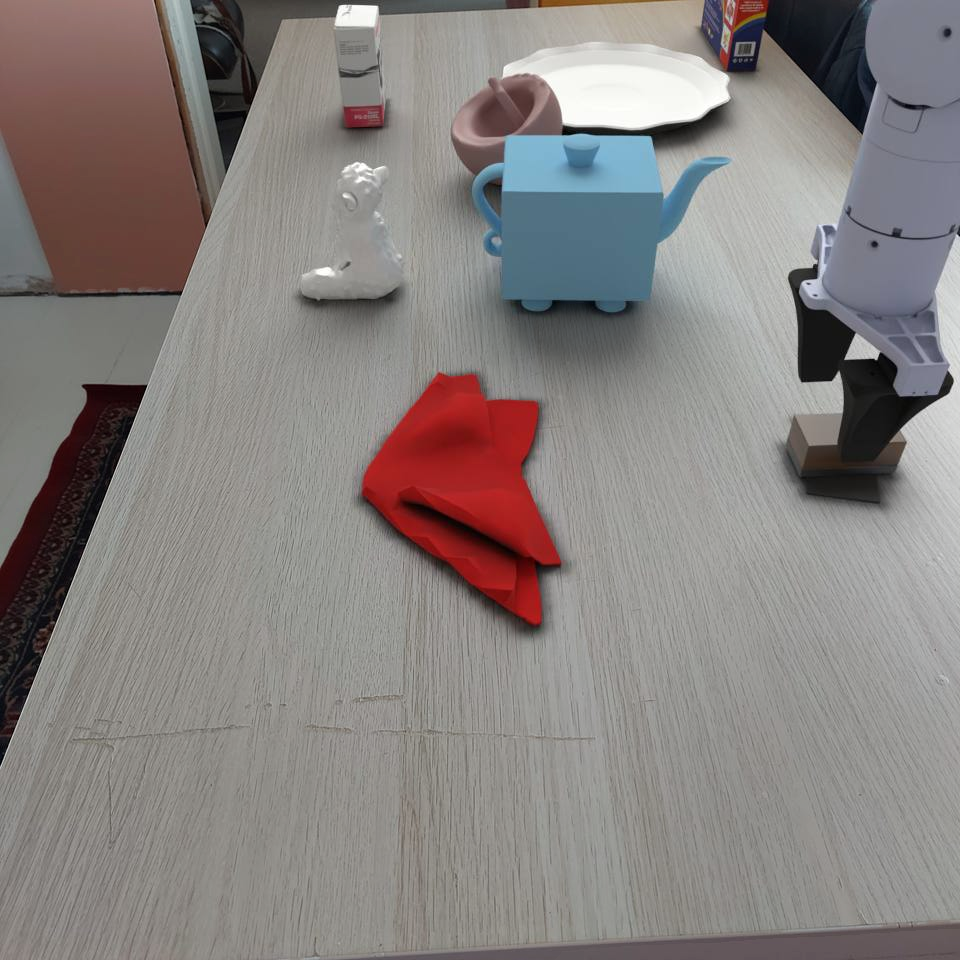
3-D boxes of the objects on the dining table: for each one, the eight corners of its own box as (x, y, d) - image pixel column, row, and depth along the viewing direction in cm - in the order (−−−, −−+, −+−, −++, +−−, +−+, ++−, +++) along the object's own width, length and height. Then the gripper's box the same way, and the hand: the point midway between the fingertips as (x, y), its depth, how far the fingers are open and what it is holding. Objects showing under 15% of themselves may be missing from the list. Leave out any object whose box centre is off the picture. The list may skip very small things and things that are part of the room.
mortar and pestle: (434, 170, 104) (429, 66, 96) (526, 148, 107) (528, 46, 100) (483, 214, 96) (481, 104, 88) (580, 189, 100) (587, 81, 92)
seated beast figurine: (353, 251, 91) (339, 132, 82) (428, 271, 88) (421, 149, 79) (297, 297, 85) (275, 173, 76) (375, 320, 82) (361, 194, 73)
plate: (451, 107, 117) (450, 88, 115) (585, 45, 133) (586, 27, 131) (644, 170, 103) (646, 149, 101) (769, 92, 119) (772, 73, 117)
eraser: (877, 441, 68) (888, 410, 66) (894, 473, 66) (907, 442, 64) (785, 445, 68) (793, 414, 66) (799, 477, 66) (808, 446, 64)
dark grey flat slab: (869, 430, 70) (869, 429, 69) (879, 503, 64) (880, 501, 64) (801, 422, 70) (802, 420, 70) (806, 493, 65) (806, 491, 65)
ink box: (384, 127, 113) (375, 25, 104) (344, 128, 113) (332, 26, 104) (387, 100, 119) (378, 2, 111) (349, 101, 119) (337, 3, 111)
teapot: (470, 315, 82) (466, 167, 72) (476, 252, 90) (474, 112, 80) (717, 318, 81) (746, 169, 71) (701, 254, 89) (725, 113, 80)
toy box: (755, 70, 125) (773, -24, 117) (726, 71, 125) (742, -23, 117) (727, 27, 138) (741, -60, 130) (700, 28, 138) (713, -59, 130)
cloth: (374, 378, 75) (372, 355, 74) (540, 374, 75) (541, 351, 74) (347, 632, 56) (342, 609, 55) (568, 627, 57) (570, 604, 55)
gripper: (783, 155, 52) (740, 350, 61) (875, 291, 42) (806, 502, 51) (905, 150, 52) (843, 346, 62) (1027, 284, 42) (931, 496, 51)
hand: (834, 416), depth 56 cm, fingers open, 7 cm apart
